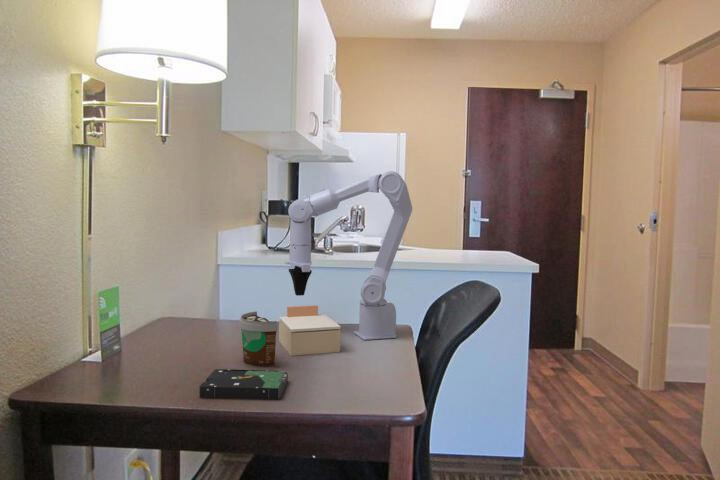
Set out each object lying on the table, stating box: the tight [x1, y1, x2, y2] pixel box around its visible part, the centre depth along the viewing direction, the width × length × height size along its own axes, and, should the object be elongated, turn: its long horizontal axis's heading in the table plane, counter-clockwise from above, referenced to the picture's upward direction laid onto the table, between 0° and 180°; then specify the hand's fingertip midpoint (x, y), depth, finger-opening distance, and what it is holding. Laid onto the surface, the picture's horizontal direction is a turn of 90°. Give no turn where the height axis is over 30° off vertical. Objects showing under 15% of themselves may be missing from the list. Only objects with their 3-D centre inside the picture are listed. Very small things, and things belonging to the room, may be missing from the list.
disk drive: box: [198, 368, 289, 401], centre depth 102 cm, size 10×3×15 cm
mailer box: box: [278, 319, 342, 357], centre depth 133 cm, size 12×14×5 cm
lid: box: [278, 304, 342, 332], centre depth 132 cm, size 12×14×3 cm
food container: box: [237, 310, 279, 367], centre depth 119 cm, size 12×6×10 cm, turn 33°
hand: (299, 295), depth 145 cm, fingers closed
